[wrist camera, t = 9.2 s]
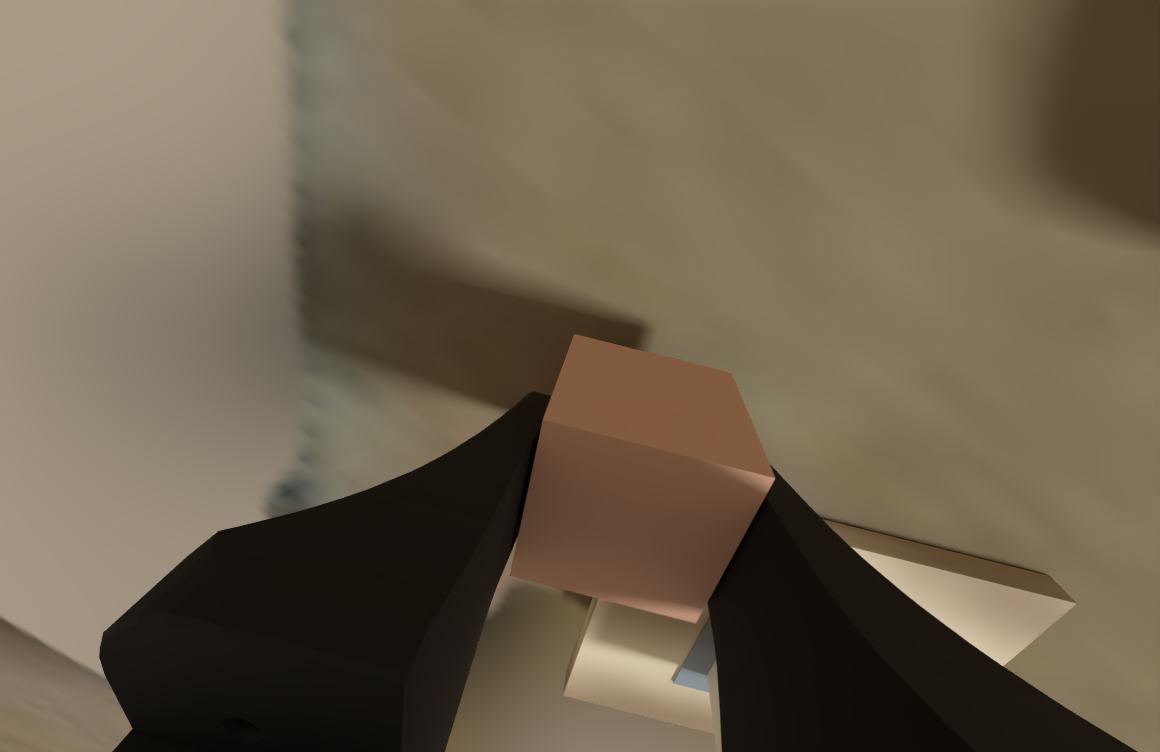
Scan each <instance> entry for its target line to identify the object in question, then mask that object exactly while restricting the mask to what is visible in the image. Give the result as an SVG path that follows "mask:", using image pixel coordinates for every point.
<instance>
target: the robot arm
mask: <svg viewBox="0 0 1160 752" xmlns="http://www.w3.org/2000/svg"><path fill="white" fill-rule="evenodd" d="M550 399H551V396H549V395H545V394H541V393H537V392H531V393H529V394H527V395H526V396H525V397H524V398H523V399H522V400H521V401H520V402H518V403H517V404H516V405H515V406H514V407H513V408H511V409H510V410H509V411H508V412H506V413H505V414H504V415H503V416H501V417H500V418H499V419H497V420H496V421H495V422H493V423H492V424H491V425H489V426H488V427H487V428H485V429H484V430H482V431H481V432H480V433H478V434H477V435H475V436H473V437H472V438H470V439H469V440H467V441H466V442H464V443H463V444H461V445H459V446H458V447H456V448H455V449H453V450H451V451H449V452H448V453H446V454H444V455H443V456H441V457H439V458H437V459H435V460H433V461H431V462H429V463H427V464H425V465H424V466H422V467H420V468H418V469H415V470H413V471H411V472H409V473H406V474H404V475H402V476H399V477H397V478H394V479H392V480H390V481H387V482H385V483H382V484H380V485H378V486H375V487H373V488H370V489H367V490H365V491H362V492H359V493H356V494H353V495H350V496H347V497H344V498H341V499H338V500H335V501H332V502H329V503H325V504H322V505H319V506H316V507H312V508H309V509H305V510H302V511H298V512H295V513H291V514H287V515H283V516H279V517H275V518H271V519H267V520H263V521H259V522H255V523H251V524H247V525H243V526H239V527H234V528H230V529H225V530H222V531H218V532H217V533H216V534H215V535H213V536H212V537H211V538H210V539H208V540H207V541H206V542H205V543H203V544H202V545H201V546H200V547H198V548H197V549H196V550H195V551H194V552H192V553H191V554H190V555H189V556H187V557H186V558H185V559H184V560H183V561H182V562H181V563H179V565H177V566H176V567H175V568H174V569H173V570H172V571H171V572H170V573H168V574H167V575H166V576H165V577H164V578H163V579H162V580H161V581H160V582H159V583H157V584H156V585H155V586H154V587H153V588H152V589H151V590H150V591H149V592H148V593H146V594H145V595H144V596H143V597H142V598H141V599H140V600H139V601H138V602H136V603H135V604H134V605H133V606H132V607H131V608H130V609H129V610H128V611H127V612H126V613H124V614H123V615H122V616H121V617H120V618H119V619H118V620H117V621H116V622H115V623H113V624H112V625H111V626H110V627H109V628H108V629H107V630H106V631H104V632H103V636H102V641H101V646H100V654H99V658H100V661H101V664H102V667H103V671H104V674H105V676H106V678H107V680H108V682H109V684H110V686H111V687H112V689H113V691H114V693H115V695H116V697H117V699H118V701H119V703H120V705H121V707H122V709H123V711H124V713H125V715H126V717H127V718H128V720H129V722H130V724H131V726H132V728H133V729H132V730H131V731H130V732H129V734H128V735H127V736H126V737H125V738H124V739H123V740H122V741H121V743H120V744H119V745H118V746H117V747H116V748H115V749H114V751H113V752H445V749H446V746H447V742H448V739H449V736H450V733H451V729H452V726H453V723H454V720H455V716H456V713H457V710H458V707H459V703H460V700H461V697H462V693H463V690H464V687H465V684H466V680H467V677H468V674H469V671H470V667H471V664H472V661H473V658H474V655H475V652H476V648H477V645H478V641H479V639H480V636H481V632H482V629H483V626H484V622H485V620H486V617H487V613H488V610H489V607H490V604H491V601H492V598H493V596H494V593H495V590H496V587H497V585H498V582H499V580H500V577H501V575H502V573H503V570H504V568H505V565H506V563H507V561H508V558H509V556H510V553H511V551H512V549H513V546H514V544H515V541H516V539H517V537H518V534H519V530H520V525H521V521H522V516H523V511H524V506H525V502H526V497H527V492H528V488H529V483H530V478H531V473H532V469H533V464H534V459H535V454H536V450H537V445H538V440H539V435H540V431H541V426H542V421H543V418H544V415H545V412H546V410H547V407H548V404H549V401H550ZM770 466H771V465H770ZM771 469H772V471H773V474H774V476H775V480H774V482H773V484H772V485H771V487H770V489H769V491H768V493H767V495H766V496H765V498H764V500H763V502H762V504H761V506H760V507H759V509H758V511H757V513H756V515H755V516H754V518H753V520H752V522H751V524H750V526H749V527H748V529H747V531H746V533H745V535H744V537H743V538H742V540H741V542H740V544H739V546H738V547H737V549H736V551H735V553H734V555H733V557H732V558H731V560H730V562H729V564H728V566H727V568H726V569H725V571H724V573H723V575H722V577H721V578H720V580H719V582H718V584H717V586H716V588H715V589H714V591H713V593H712V595H711V597H710V599H709V600H708V602H707V604H708V609H709V615H710V621H711V627H712V633H713V639H714V647H715V655H716V664H717V678H718V692H719V707H720V726H721V747H722V752H1137V751H1135V750H1134V749H1132V748H1131V747H1129V746H1127V745H1126V744H1124V743H1122V742H1121V741H1119V740H1117V739H1116V738H1114V737H1113V736H1111V735H1109V734H1108V733H1106V732H1104V731H1103V730H1101V729H1099V728H1098V727H1096V726H1095V725H1093V724H1091V723H1090V722H1088V721H1086V720H1085V719H1083V718H1081V717H1080V716H1078V715H1077V714H1075V713H1073V712H1072V711H1070V710H1068V709H1067V708H1065V707H1064V706H1062V705H1061V704H1059V703H1057V702H1056V701H1054V700H1053V699H1051V698H1050V697H1048V696H1047V695H1045V694H1044V693H1042V692H1041V691H1039V690H1038V689H1036V688H1035V687H1033V686H1032V685H1030V684H1029V683H1027V682H1026V681H1024V680H1023V679H1021V678H1020V677H1018V676H1017V675H1015V674H1014V673H1012V672H1011V671H1009V670H1008V669H1006V668H1005V667H1003V666H1002V665H1000V664H999V663H998V662H996V661H995V660H993V659H992V658H990V657H989V656H988V655H986V654H985V653H983V652H982V651H980V650H979V649H978V648H976V647H975V646H973V645H972V644H970V643H969V642H968V641H966V640H965V639H964V638H962V637H961V636H960V635H958V634H957V633H956V632H954V631H953V630H952V629H950V628H949V627H948V626H946V625H945V624H944V623H942V622H941V621H940V620H938V619H937V618H936V617H934V616H933V615H932V614H930V613H929V612H928V611H926V610H925V609H924V608H922V607H921V606H920V605H919V604H917V603H916V602H915V601H914V600H912V599H911V598H910V597H908V596H907V595H906V594H905V593H903V592H902V591H901V590H900V589H899V588H898V587H896V586H895V585H894V584H893V583H892V582H890V581H889V580H888V579H887V578H886V577H884V576H883V575H882V574H881V573H880V572H879V571H877V570H876V569H875V568H874V567H873V566H871V565H870V564H869V563H868V562H867V561H866V560H865V559H864V558H862V557H861V556H860V555H859V554H858V553H857V552H856V551H855V550H854V549H853V548H852V547H850V546H849V545H848V544H847V543H846V542H845V541H844V540H843V539H842V538H841V537H840V536H839V535H838V534H837V533H836V532H835V531H834V530H833V529H832V528H831V527H830V526H829V525H828V524H827V523H826V522H825V521H824V520H823V519H822V518H821V517H820V516H819V515H818V514H817V513H816V512H815V511H814V510H813V509H812V508H811V507H810V506H809V505H808V504H807V503H806V502H805V501H804V500H803V499H802V498H801V497H800V496H799V495H798V494H797V493H796V492H795V491H794V489H793V488H792V487H791V486H790V485H789V484H788V483H787V482H786V481H785V480H784V479H783V478H782V477H781V476H780V474H779V473H778V472H777V471H776V470H775V469H774V468H773V467H772V466H771Z"/></svg>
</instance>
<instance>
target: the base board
mask: <svg viewBox="0 0 1160 752" xmlns="http://www.w3.org/2000/svg"><path fill="white" fill-rule="evenodd" d="M823 520H824V519H823ZM824 521H825V522H826V523H827V524H828V525H829V526H830V527H831V528H832V529H833V530H834V531H835V532H836V533H837V534H838V535H839V536H840V537H841V538H842V539H843V540H844V541H845V542H846V543H847V544H848V545H849V546H850V547H852V548H853V549H854V550H855V551H856V552H857V553H858V554H859V555H860V556H861V557H862V558H864V559H865V560H866V561H867V562H868V563H869V564H870V565H871V566H873V567H874V568H875V569H876V570H877V571H879V572H880V573H881V574H882V575H883V576H884V577H886V578H887V579H888V580H889V581H890V582H892V583H893V584H894V585H895V586H896V587H898V588H899V589H900V590H901V591H902V592H903V593H905V594H906V595H907V596H908V597H910V598H911V599H912V600H914V601H915V602H916V603H917V604H919V605H920V606H921V607H922V608H924V609H925V610H926V611H928V612H929V613H930V614H932V615H933V616H934V617H936V618H937V619H938V620H940V621H941V622H942V623H944V624H945V625H946V626H948V627H949V628H950V629H952V630H953V631H954V632H956V633H957V634H958V635H960V636H961V637H962V638H964V639H965V640H966V641H968V642H969V643H970V644H972V645H973V646H975V647H976V648H978V649H979V650H980V651H982V652H983V653H985V654H986V655H988V656H989V657H990V658H992V659H993V660H995V661H996V662H998V663H999V664H1000V665H1002V666H1004V665H1005V664H1006V663H1007V662H1009V661H1010V660H1011V659H1012V658H1013V657H1014V656H1016V655H1017V654H1018V653H1019V652H1020V651H1022V650H1023V649H1024V648H1025V647H1026V646H1027V645H1029V644H1030V643H1031V642H1032V641H1033V640H1034V639H1036V638H1037V637H1038V636H1039V635H1040V634H1042V633H1043V632H1044V631H1045V630H1046V629H1047V628H1049V627H1050V626H1051V625H1052V624H1053V623H1054V622H1056V621H1057V620H1058V619H1059V618H1060V617H1062V616H1063V615H1064V614H1065V613H1066V612H1067V611H1069V610H1070V609H1071V608H1072V607H1073V606H1074V605H1076V604H1077V603H1076V602H1075V601H1074V600H1073V599H1072V598H1071V597H1070V596H1069V595H1068V594H1067V593H1066V592H1065V591H1064V590H1063V589H1062V588H1061V587H1060V586H1059V585H1058V584H1057V583H1056V582H1055V581H1054V580H1053V579H1052V578H1051V577H1050V576H1048V575H1044V574H1040V573H1036V572H1032V571H1028V570H1024V569H1020V568H1016V567H1012V566H1008V565H1004V564H1000V563H996V562H992V561H988V560H984V559H980V558H976V557H972V556H968V555H964V554H960V553H956V552H952V551H948V550H944V549H940V548H936V547H932V546H928V545H924V544H920V543H916V542H912V541H908V540H904V539H900V538H896V537H892V536H888V535H884V534H880V533H876V532H872V531H868V530H864V529H860V528H856V527H852V526H848V525H844V524H840V523H836V522H832V521H828V520H824ZM715 662H716V655H715V647H714V639H713V633H712V627H711V621H710V615H709V609H708V604H706V606H705V608H704V609H703V611H702V613H701V615H700V617H699V619H698V620H697V622H696V623H692V622H688V621H684V620H681V619H677V618H673V617H669V616H665V615H661V614H657V613H653V612H649V611H645V610H641V609H638V608H634V607H630V606H626V605H622V604H618V603H614V602H610V601H606V600H602V599H598V598H595V597H593V598H592V601H591V604H590V606H589V609H588V612H587V615H586V618H585V621H584V623H583V626H582V629H581V632H580V635H579V637H578V640H577V643H576V646H575V649H574V652H573V654H572V657H571V660H570V663H569V666H568V669H567V671H566V678H565V685H564V692H563V695H564V696H568V697H572V698H576V699H580V700H584V701H588V702H592V703H595V704H599V705H603V706H607V707H611V708H615V709H619V710H623V711H627V712H631V713H634V714H639V715H642V716H646V717H651V718H654V719H658V720H662V721H666V722H670V723H673V724H677V725H681V726H686V727H689V728H693V729H697V730H701V731H705V732H709V733H713V734H714V727H713V719H712V711H711V703H710V696H709V688H708V680H707V674H708V673H709V671H710V670H711V668H712V666H713V665H714V663H715Z"/></svg>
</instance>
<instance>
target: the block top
mask: <svg viewBox="0 0 1160 752" xmlns="http://www.w3.org/2000/svg"><path fill="white" fill-rule="evenodd" d="M774 480H775V476H774V474H773V471H772V469H771V466H770V464H769V462H768V459H767V457H766V454H765V452H764V450H763V447H762V445H761V443H760V440H759V438H758V435H757V433H756V431H755V428H754V426H753V423H752V421H751V419H750V416H749V414H748V412H747V409H746V407H745V404H744V402H743V400H742V397H741V395H740V392H739V390H738V388H737V385H736V383H735V381H734V378H733V376H732V373H729V372H725V371H721V370H717V369H713V368H709V367H705V366H701V365H697V364H693V363H689V362H685V361H681V360H677V359H673V358H669V357H665V356H661V355H657V354H653V353H649V352H645V351H641V350H637V349H633V348H629V347H625V346H621V345H617V344H613V343H609V342H605V341H601V340H597V339H593V338H589V337H585V336H581V335H577V334H574V336H573V339H572V342H571V344H570V347H569V350H568V353H567V355H566V358H565V361H564V363H563V366H562V369H561V372H560V374H559V377H558V380H557V382H556V385H555V388H554V391H553V393H552V396H551V399H550V401H549V404H548V407H547V410H546V412H545V415H544V418H543V421H542V426H541V431H540V435H539V440H538V445H537V450H536V454H535V459H534V464H533V469H532V473H531V478H530V483H529V488H528V492H527V497H526V502H525V506H524V511H523V516H522V521H521V525H520V530H519V535H518V540H517V544H516V549H515V554H514V559H513V563H512V568H511V573H510V576H512V577H516V578H520V579H524V580H528V581H532V582H536V583H540V584H544V585H548V586H552V587H555V588H559V589H563V590H567V591H571V592H575V593H579V594H583V595H587V596H591V597H595V598H598V599H602V600H606V601H610V602H614V603H618V604H622V605H626V606H630V607H634V608H638V609H641V610H645V611H649V612H653V613H657V614H661V615H665V616H669V617H673V618H677V619H681V620H684V621H688V622H692V623H696V622H697V620H698V619H699V617H700V615H701V613H702V611H703V609H704V608H705V606H706V604H707V602H708V600H709V599H710V597H711V595H712V593H713V591H714V589H715V588H716V586H717V584H718V582H719V580H720V578H721V577H722V575H723V573H724V571H725V569H726V568H727V566H728V564H729V562H730V560H731V558H732V557H733V555H734V553H735V551H736V549H737V547H738V546H739V544H740V542H741V540H742V538H743V537H744V535H745V533H746V531H747V529H748V527H749V526H750V524H751V522H752V520H753V518H754V516H755V515H756V513H757V511H758V509H759V507H760V506H761V504H762V502H763V500H764V498H765V496H766V495H767V493H768V491H769V489H770V487H771V485H772V484H773V482H774Z"/></svg>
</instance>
